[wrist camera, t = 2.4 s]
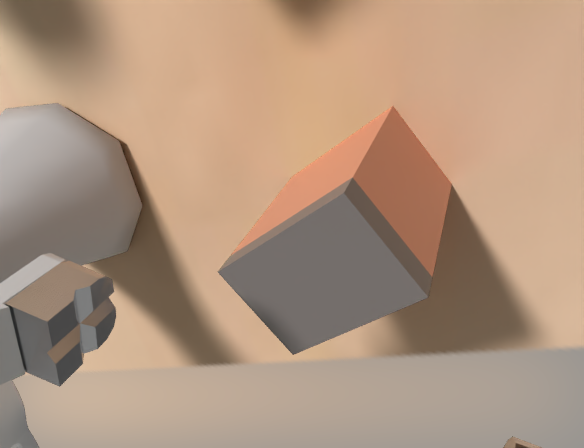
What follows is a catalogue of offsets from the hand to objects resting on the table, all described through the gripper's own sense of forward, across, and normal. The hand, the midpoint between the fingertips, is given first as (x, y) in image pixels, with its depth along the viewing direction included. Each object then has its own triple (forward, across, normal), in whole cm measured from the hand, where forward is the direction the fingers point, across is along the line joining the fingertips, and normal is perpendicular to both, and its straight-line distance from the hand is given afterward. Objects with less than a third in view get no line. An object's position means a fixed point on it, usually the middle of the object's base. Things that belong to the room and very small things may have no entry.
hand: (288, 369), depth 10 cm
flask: (+9, +13, +4) cm, 17 cm away
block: (+9, +1, 0) cm, 9 cm away
